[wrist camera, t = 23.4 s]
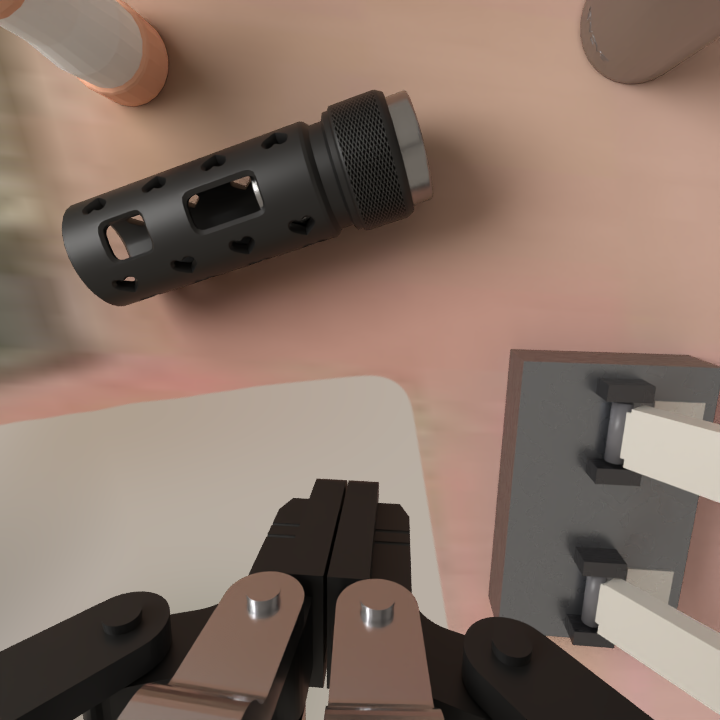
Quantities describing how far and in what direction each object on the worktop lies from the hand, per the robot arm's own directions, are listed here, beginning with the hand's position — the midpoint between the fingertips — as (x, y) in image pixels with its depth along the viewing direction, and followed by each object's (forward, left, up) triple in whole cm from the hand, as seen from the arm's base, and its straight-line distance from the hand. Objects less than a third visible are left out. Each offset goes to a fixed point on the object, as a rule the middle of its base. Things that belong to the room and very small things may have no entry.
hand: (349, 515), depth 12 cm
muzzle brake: (+6, -14, -35) cm, 38 cm away
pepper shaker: (+12, -30, -35) cm, 48 cm away
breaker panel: (-11, +23, -35) cm, 43 cm away
